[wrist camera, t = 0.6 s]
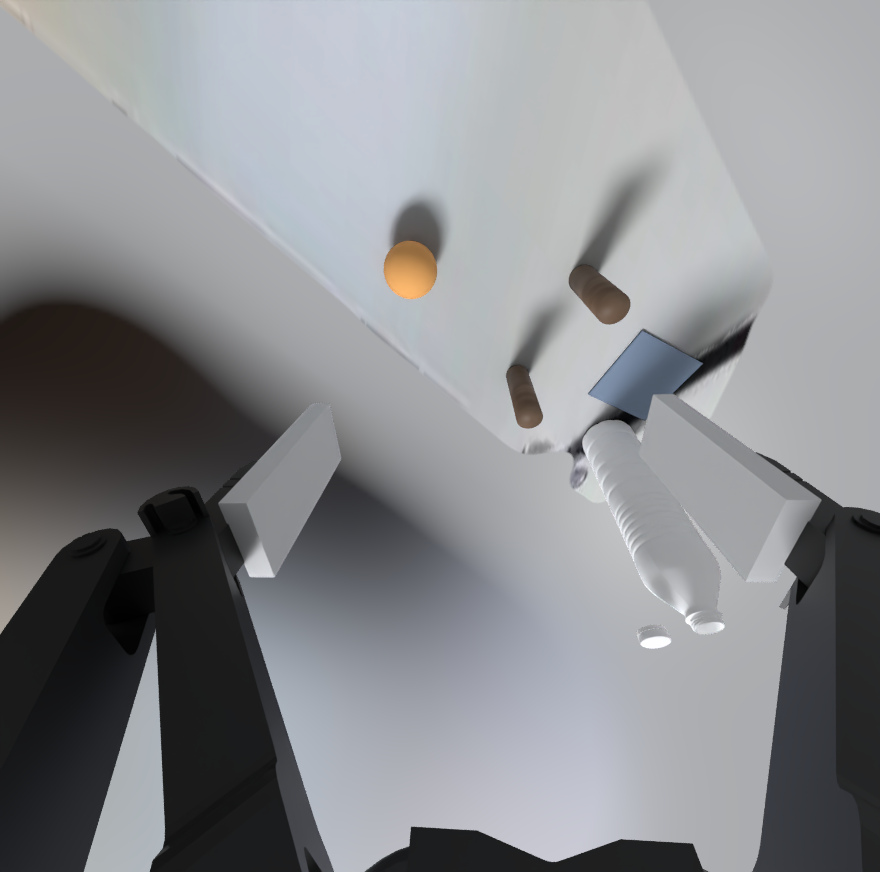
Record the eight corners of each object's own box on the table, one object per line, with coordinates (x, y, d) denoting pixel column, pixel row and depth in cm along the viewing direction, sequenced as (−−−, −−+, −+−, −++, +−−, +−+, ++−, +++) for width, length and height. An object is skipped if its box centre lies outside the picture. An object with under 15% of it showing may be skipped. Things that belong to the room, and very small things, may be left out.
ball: (398, 226, 34) (391, 235, 30) (446, 251, 35) (445, 263, 31) (381, 276, 37) (372, 291, 33) (425, 298, 38) (422, 315, 34)
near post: (579, 259, 35) (611, 286, 28) (600, 271, 36) (637, 301, 29) (563, 284, 37) (589, 316, 30) (584, 296, 37) (614, 329, 30)
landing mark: (641, 330, 39) (642, 331, 39) (701, 362, 41) (702, 363, 41) (588, 393, 44) (588, 394, 44) (644, 419, 47) (644, 420, 46)
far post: (513, 361, 42) (525, 403, 35) (532, 370, 43) (548, 413, 36) (502, 379, 44) (511, 422, 36) (520, 387, 44) (533, 431, 37)
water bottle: (621, 410, 46) (747, 602, 26) (638, 442, 49) (763, 635, 29) (558, 441, 49) (628, 632, 30) (578, 469, 52) (653, 658, 33)
